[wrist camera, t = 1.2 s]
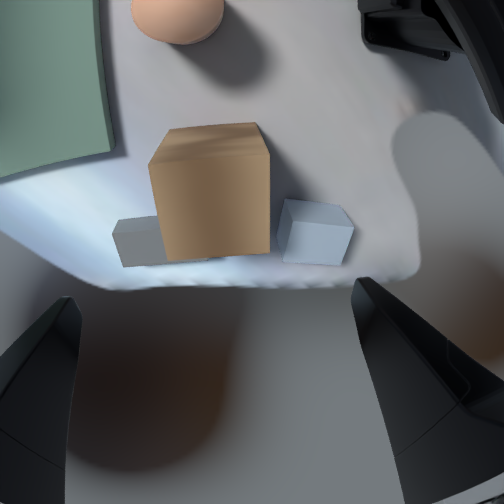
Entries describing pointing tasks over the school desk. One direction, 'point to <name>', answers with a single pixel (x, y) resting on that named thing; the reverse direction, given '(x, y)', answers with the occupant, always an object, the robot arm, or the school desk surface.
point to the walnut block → (212, 191)
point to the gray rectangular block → (142, 242)
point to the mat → (51, 83)
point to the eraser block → (313, 232)
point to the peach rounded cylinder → (178, 19)
